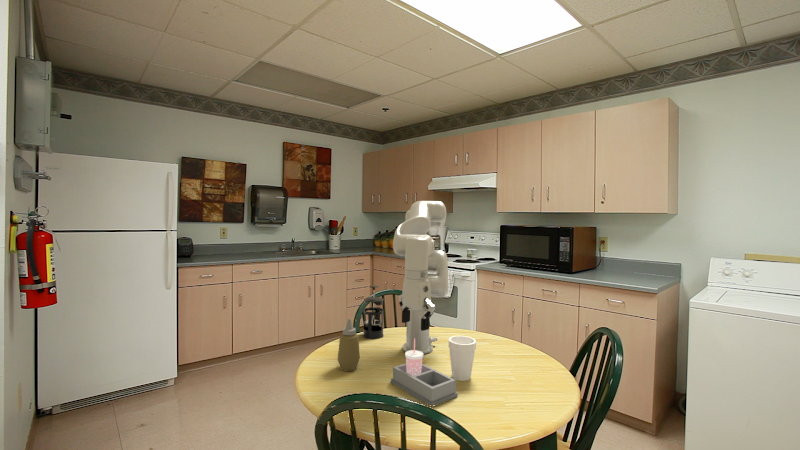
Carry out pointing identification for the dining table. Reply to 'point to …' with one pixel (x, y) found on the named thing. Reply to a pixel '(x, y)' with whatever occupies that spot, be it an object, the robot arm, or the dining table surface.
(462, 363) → the foam cup
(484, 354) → the dining table surface
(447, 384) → the compartment organizer caddy
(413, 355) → the beverage cup
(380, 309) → the french press
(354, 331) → the squeeze bottle
